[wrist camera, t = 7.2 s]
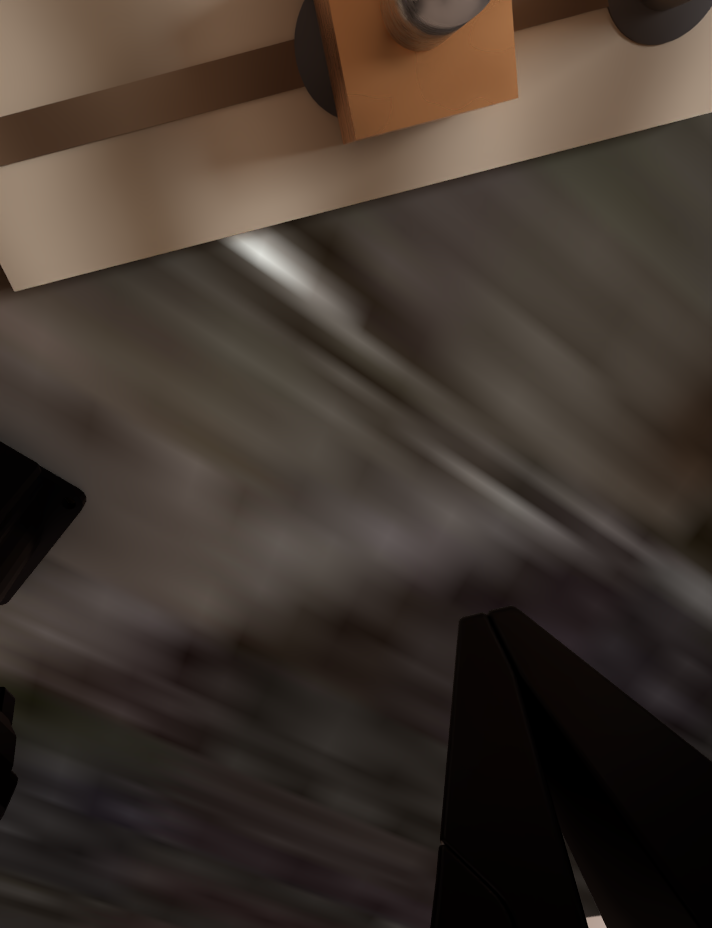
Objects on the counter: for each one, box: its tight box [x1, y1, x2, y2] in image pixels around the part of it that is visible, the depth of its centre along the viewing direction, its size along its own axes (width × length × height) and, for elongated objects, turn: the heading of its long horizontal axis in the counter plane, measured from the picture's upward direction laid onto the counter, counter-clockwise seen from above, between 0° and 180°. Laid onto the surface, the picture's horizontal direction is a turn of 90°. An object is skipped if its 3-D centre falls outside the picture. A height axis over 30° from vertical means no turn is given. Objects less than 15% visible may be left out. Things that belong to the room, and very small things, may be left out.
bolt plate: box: [0, 0, 712, 292], centre depth 12 cm, size 21×7×8 cm, turn 103°
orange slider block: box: [314, 0, 519, 145], centre depth 11 cm, size 4×4×6 cm
